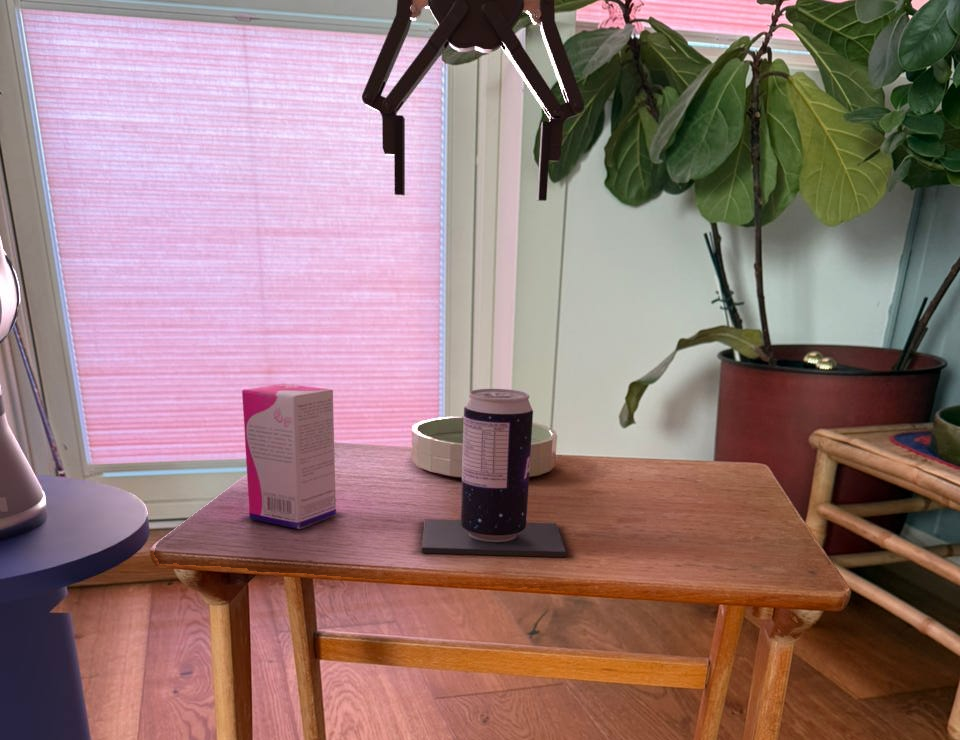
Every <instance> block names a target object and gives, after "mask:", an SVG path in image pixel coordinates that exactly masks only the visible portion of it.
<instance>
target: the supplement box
mask: <svg viewBox="0 0 960 740" xmlns="http://www.w3.org/2000/svg"><path fill="white" fill-rule="evenodd" d="M241 395H242V396H241V397H242V398H241V399H242V412H243V426H244V446H245V463H246V478H247V480H246V481H247V495H248V497H247V498H248V512H249V514H248V515H249V519H250V520H253V521H257V522H262V523H268V524H272V525H277V526H283V527H286V528H291V529H295V530H301V529H304V528H306V527H309V526H311V525H314V524H316V523H318V522H321V521H324V520H327V519H330V518H331V517H333V516H336V514H337V499H336V497H337V496H336V465H335V463H336V462H335V461H336V460H335V459H336V458H335V428H334V427H335V423H334V422H335V420H334V419H335V418H334V390H333V389H329V388H321V387H315V386H305V385H297V384H289V383H278V384H272V385H266V386H260V387H253V388H245V389H242V391H241Z"/></svg>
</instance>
